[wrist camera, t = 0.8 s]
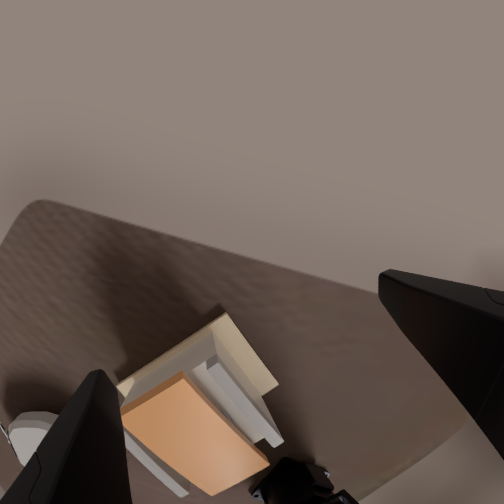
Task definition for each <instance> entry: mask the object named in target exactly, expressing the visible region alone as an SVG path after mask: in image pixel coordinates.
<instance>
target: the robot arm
mask: <svg viewBox="0 0 504 504" xmlns="http://www.w3.org/2000/svg"><path fill="white" fill-rule="evenodd" d="M378 280H379V281H378V295H379V299H380V301H381V302H382V304H383V305H384V307H385V308H386V309H387V311H388V312H389V314H390V315H391V316H392V318H393V319H394V321H395V322H396V324H397V325H398V327H399V328H400V329H401V331H402V332H403V333H404V335H405V336H406V337H407V338H408V339H409V341H410V342H411V343H412V344H413V345H414V346H415V348H416V349H417V350H418V351H419V352H420V353H421V355H422V356H423V357H424V358H425V359H426V361H427V362H428V363H429V364H430V365H431V367H432V368H433V369H434V370H435V371H436V373H437V374H438V375H439V376H440V377H441V379H442V380H443V381H444V382H445V384H446V385H447V386H448V387H449V389H450V390H451V391H452V392H453V394H454V395H455V396H456V397H457V399H458V400H459V401H460V402H461V404H462V405H463V406H464V407H465V409H466V410H467V411H468V413H469V414H470V415H471V416H472V418H473V419H474V420H475V422H476V423H477V425H478V426H479V427H480V429H481V430H482V431H483V433H484V434H485V435H486V437H487V438H488V439H489V441H490V442H491V443H492V445H493V446H494V447H495V449H496V450H497V451H498V453H499V454H500V456H501V457H502V459H503V460H504V291H498V290H493V289H488V288H482V287H478V286H473V285H468V284H463V283H458V282H453V281H448V280H443V279H438V278H433V277H428V276H423V275H418V274H413V273H408V272H403V271H398V270H393V269H389V270H386V271H384V272H382V273H380V274H379V279H378ZM285 461H288V462H286V463H284V462H285ZM329 476H330V474H329V472H328V471H325V470H322V468H321V467H318V466H315V465H312V464H309V463H306V462H302V463H301V462H299V461H296V460H293V459H291V458H288V457H285V458H283V459H282V460H281V461H280V462H279V463H278V464H277V465H276V467H275V468H274V469H273V470H272V471H271V472H270V473H269V475H268V476H267V477H266V478H265V479H264V480H263V481H262V482H261V483H260V484H259V486H258V487H257V488H256V489H255V490H254V491H253V492H252V493H251V496H252V498H253V499H256V500H259V501H263V502H264V503H265V504H359V503H358V502H357V501H356V500H355V499H354V498H353V497H352V496H351V495H350V494H348V493H347V492H346V491H345V490H344V489H343V490H341V491H339V493H336V494H334V493H333V492H332V491H333V490H334V486H333V484H332V483H331V481H330V480H329V479H328V477H329ZM0 504H132V498H131V491H130V484H129V476H128V467H127V457H126V446H125V435H124V429H123V423H122V418H121V412H120V406H119V399H118V393H117V390H116V388H115V386H114V384H113V383H112V382H111V380H110V379H109V377H108V376H107V375H106V373H105V372H104V371H103V370H101V369H99V370H95V371H91V372H90V373H89V374H88V375H87V376H86V378H85V379H84V381H83V382H82V383H81V385H80V386H79V387H78V389H77V390H76V392H75V393H74V395H73V396H72V397H71V399H70V400H69V402H68V403H67V404H66V406H65V407H64V409H63V410H62V412H61V413H60V414H59V416H58V417H57V419H56V420H55V422H54V423H53V425H52V426H51V428H50V429H49V431H48V432H47V434H46V435H45V437H44V438H43V440H42V441H41V443H40V444H39V446H38V447H37V449H36V451H35V452H34V453H33V455H32V456H31V458H30V459H29V461H28V462H27V464H26V465H25V467H24V468H23V470H22V471H21V473H20V474H19V475H18V477H17V478H16V480H15V481H14V482H13V484H12V485H11V486H10V488H9V489H8V490H7V492H6V493H5V494H4V496H3V497H2V498H1V500H0Z"/></svg>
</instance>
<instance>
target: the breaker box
mask: <svg viewBox="0 0 504 504" xmlns="http://www.w3.org/2000/svg"><path fill="white" fill-rule="evenodd" d="M181 370H183V371H184V372H185V373H186V374H187V376H188V377H189V378H190V379H191V380H192V381H193V382H194V384H195V385H196V386H197V387H198V388H199V389H200V390H201V391H202V392H203V394H204V395H205V396H206V397H207V398H208V399H209V400H210V401H211V402H212V403H213V404H214V405H215V406H216V407H217V409H218V410H219V411H222V410H223V411H225V412H226V413H227V414H228V416H229V417H230V419H231V420H232V422H233V424H234V426H235V427H236V428H237V429H238V430H239V431H240V432H241V433H242V434H243V435H244V436H245V437H246V438H247V439H248V440H249V441H250V442H251V443H252V444H255V443H256V442H258V441H259V440H261V439H263V438H265V439H266V440H267V441H268V442H269V444H270V445H271V446H272V447H273V448H275V447H277V446H278V445H280V444H281V443H283V442H284V440H283V438H282V436H281V434H280V432H279V430H278V428H277V426H276V424H275V423H274V421H273V419H272V417H271V415H270V413H269V411H268V409H267V407H266V405H265V403H264V401H263V399H262V397H261V396H263V395H264V394H266V393H267V392H269V391H270V390H271V389H273V388H274V387H276V386H277V385H279V384H278V382H277V381H276V379H275V378H274V377H273V376H272V374H271V373H270V372H269V370H268V369H267V368H266V366H265V365H264V364H263V362H262V361H261V360H260V358H259V357H258V356H257V354H256V353H255V351H254V350H253V349H252V347H251V346H250V345H249V343H248V342H247V341H246V339H245V338H244V336H243V335H242V334H241V332H240V331H239V330H238V328H237V327H236V325H235V324H234V323H233V321H232V320H231V318H230V317H229V316H228V314H227V313H226V312H225V313H223V314H222V315H220V316H219V317H218V318H216V319H215V320H213V321H212V322H210V323H209V324H207V325H206V326H204V327H203V328H201V329H200V330H198V331H197V332H195V333H194V334H192V335H191V336H189V337H188V338H186V339H185V340H183V341H182V342H180V343H179V344H177V345H176V346H174V347H173V348H171V349H170V350H168V351H167V352H165V353H164V354H162V355H161V356H159V357H158V358H156V359H155V360H153V361H152V362H150V363H149V364H147V365H145V366H144V367H142V368H141V369H139V370H138V371H136V372H135V373H133V374H132V375H130V376H128V377H127V378H125V379H124V380H122V381H121V382H119V383H118V385H117V386H116V387H117V388H118V389H119V391H120V392H121V393H122V394H123V395H124V397H125V400H124V402H123V404H122V406H121V408H122V407H123V406H125V405H127V404H128V403H130V402H132V401H133V400H135V399H137V398H138V397H140V396H141V395H143V394H145V393H146V392H148V391H150V390H151V389H153V388H154V387H156V386H158V385H159V384H161V383H162V382H164V381H166V380H167V379H169V378H170V377H172V376H174V375H175V374H177V373H178V372H180V371H181ZM123 429H124V435H125V446H126V448H127V449H128V450H129V451H130V452H131V453H132V454H133V455H134V456H135V457H136V458H137V459H138V460H139V461H140V462H141V463H142V464H143V465H144V466H145V467H146V468H147V469H149V470H150V471H151V472H152V473H153V474H154V475H155V476H156V477H157V478H158V479H159V480H160V481H162V482H163V483H164V484H165V485H166V486H167V487H168V488H170V489H171V490H172V491H173V492H174V493H175V494H177V495H178V496H179V497H180V498H181V497H183V496H186V495H188V494H190V481H189V480H188V479H186V478H185V477H184V476H182V475H181V474H180V473H178V472H177V471H176V470H174V469H173V468H172V467H171V466H169V465H168V464H167V463H165V462H164V461H163V460H162V459H161V458H159V457H158V456H157V455H156V454H154V453H153V452H152V451H151V450H150V449H149V448H147V447H146V446H145V445H144V444H143V443H142V442H141V441H139V440H138V439H137V438H136V437H135V436H134V435H133V434H132V433H131V432H129V431H128V430H127V429H126V428H125V427H124V426H123Z"/></svg>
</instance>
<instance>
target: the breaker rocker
mask: <svg viewBox="0 0 504 504" xmlns="http://www.w3.org/2000/svg"><path fill="white" fill-rule="evenodd" d="M120 412H121V418H122V423H123V426H124V427H125V428H126V429H127V430H128V431H129V432H131V433H132V434H133V435H134V436H135V437H136V438H137V439H138V440H139V441H141V442H142V443H143V444H144V445H145V446H146V447H147V448H149V449H150V450H151V451H152V452H153V453H154V454H156V455H157V456H158V457H159V458H161V459H162V460H163V461H164V462H165V463H167V464H168V465H169V466H171V467H172V468H173V469H174V470H176V471H177V472H178V473H180V474H181V475H182V476H184V477H185V478H186V479H188V480H189V481H190V482H192V483H193V484H195V485H196V486H197V487H199V488H200V489H202V490H203V491H205V492H206V493H208V494H209V495H211V496H213V495H215V494H217V493H219V492H221V491H223V490H225V489H227V488H229V487H231V486H233V485H235V484H237V483H239V482H241V481H243V480H245V479H246V478H248V477H250V476H252V475H254V474H255V473H257V472H259V471H261V470H262V469H264V468H266V467H267V466H269V465H270V464H269V462H268V460H267V457H266V456H265V455H264V454H263V453H262V452H261V451H260V450H259V449H258V448H257V447H256V446H255V445H254V444H252V443H251V442H250V441H249V440H248V439H247V438H246V437H245V436H244V435H243V434H242V433H241V432H240V431H239V430H238V429H237V428H236V427H235V426H234V424H233V422H232V420H231V419H230V417H229V416H228V414H227V413H226V412H225V411H223V410H222V411H219V410H218V409H217V407H216V406H215V405H214V404H213V403H212V402H211V401H210V400H209V399H208V398H207V397H206V396H205V395H204V394H203V392H202V391H201V390H200V389H199V388H198V387H197V386H196V385H195V384H194V382H193V381H192V380H191V379H190V378H189V377H188V376H187V374H186V373H185V372H184V371H183V370H181V371H180V372H178V373H177V374H175V375H174V376H172V377H170V378H169V379H167V380H166V381H164V382H162V383H161V384H159V385H158V386H156V387H154V388H153V389H151V390H150V391H148V392H146V393H145V394H143V395H141V396H140V397H138V398H137V399H135V400H133V401H132V402H130V403H128V404H127V405H125V406H123V407H122V408H120Z"/></svg>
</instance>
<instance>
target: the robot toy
mask: <svg viewBox="0 0 504 504" xmlns="http://www.w3.org/2000/svg"><path fill="white" fill-rule="evenodd" d="M58 416H59V415H57V414H53V413H50V412H47V411H42V412H25V413H21V414H20V415H19V416H18V417H16V419H15V420H14V421H13V422H12V423H11V424H10V425H9V430H8V431H7V432H6V430H5V429H4V427H3V425H2V424H1V422H0V427H1V429H2V430H3V432H4V433H5V435H6V436H7V438H8V442H9V443H10V444H11V446H12V448H13V450H14V452H15V454H16V456H17V457H18V458H19V460H20V462H21V464H22V465H24V466H25V465H26V464H27V462H28V461H29V459H30V458H31V456H32V455H33V453H34V452H35V451H36V449H37V447H38V446H39V444H40V443H41V441H42V440H43V438H44V437H45V435H46V434H47V432H48V431H49V429H50V428H51V426H52V425H53V423H54V422H55V420H56V419H57V417H58Z"/></svg>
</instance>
